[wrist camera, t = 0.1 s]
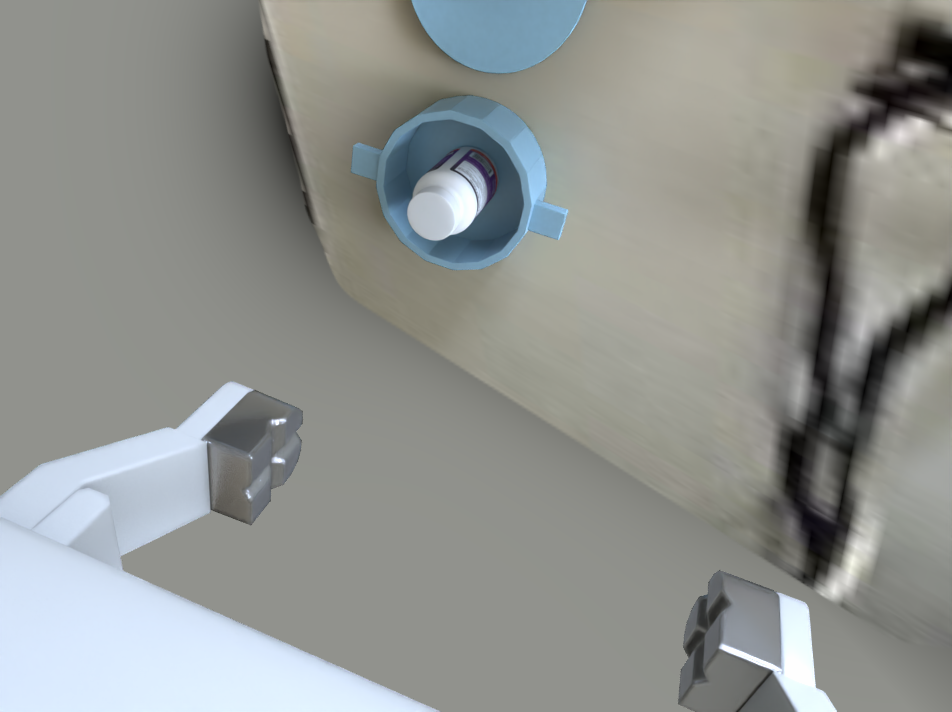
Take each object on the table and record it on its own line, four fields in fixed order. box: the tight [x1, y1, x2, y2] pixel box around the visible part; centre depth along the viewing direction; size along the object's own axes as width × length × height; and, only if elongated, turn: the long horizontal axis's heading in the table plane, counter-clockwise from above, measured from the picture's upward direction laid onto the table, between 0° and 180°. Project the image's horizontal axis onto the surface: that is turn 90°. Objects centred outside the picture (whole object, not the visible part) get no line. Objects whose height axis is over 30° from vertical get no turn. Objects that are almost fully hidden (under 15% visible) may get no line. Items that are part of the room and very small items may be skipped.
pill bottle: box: [407, 147, 499, 241], centre depth 57 cm, size 5×5×10 cm
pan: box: [351, 95, 568, 270], centre depth 59 cm, size 13×19×5 cm
